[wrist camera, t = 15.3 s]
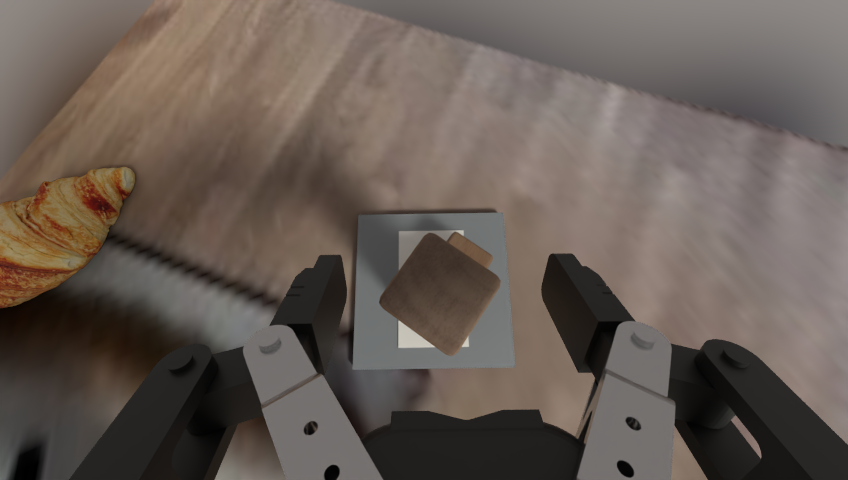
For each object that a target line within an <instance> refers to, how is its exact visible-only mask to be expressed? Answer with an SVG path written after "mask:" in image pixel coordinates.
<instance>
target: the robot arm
mask: <svg viewBox="0 0 848 480" xmlns="http://www.w3.org/2000/svg"><path fill="white" fill-rule="evenodd" d="M290 287H291V288H290V289H289V290H288V292H287V294H286V297H285V298H284V299H283V301H282V303H281V305H280V307H279V309H278V311H277V312H276V314H275V316H274V318H273V320H272V322H271V324H270V326H268V327H266V328H263V329H261V330H259V331H257V332H256V333H254V334H253V335H252V336H251V337H250V338H249V339H248V340H247V341H246V343H245V345H244V346H243V347H240V348H236V349H232V350H229V351H225V352H221V353H217V354H212V352H211V350H210V349H209V347H207V346H205V345H202V344H193V345H188V346H184V347H181V348H179V349H176V350H175V351H173V352H171V353H169V354H168V355H166V356H165V357H164V358H162V359H161V360H160V361H159V362H158V363H157V364H156V366H155V367H154V368H153V369H152V371H151V372H150V373H149V375H148V376H147V377H146V379H145V380H144V381H143V383H142V384H141V385H140V387H139V388H138V389H137V391H136V392H135V393H134V394H133V396H132V397H131V398H130V400H129V401H128V402H127V404H126V405H125V406H124V408H123V409H122V410H121V412H120V413H119V414H118V416H117V417H116V418H115V420H114V421H113V422H112V424H111V425H110V426H109V428H108V429H107V430H106V431H105V433H104V434H103V435H102V437H101V438H100V439H99V441H98V442H97V443H96V445H95V446H94V447H93V449H92V450H91V451H90V453H89V454H88V455H87V457H86V458H85V459H84V461H83V462H82V463H81V465H80V466H79V467H78V468H77V470H76V471H75V472H74V474H73V475H72V476H71V478H70V479H69V480H214V479H215V477H216V475H217V472H218V470H219V467H220V465H221V463H222V460H223V458H224V456H225V453H226V451H227V448H228V446H229V444H230V441H231V439H232V437H233V434H234V432H235V429H236V427H237V425H238V423H241V422H244V421H247V420H250V419H254V418H257V417H260V416H263V415H264V417H265V420H266V423H267V426H268V429H269V431H270V434H271V437H272V440H273V443H274V445H275V448H276V451H277V454H278V457H279V460H280V462H281V465H282V468H283V471H284V474H285V476H286V479H287V480H671V469H672V453H673V438H674V425H675V427H676V428H677V430H678V432H679V433H680V435H681V437H682V438H683V440H684V441H685V443H686V445H687V446H688V448H689V449H690V451H691V453H692V454H693V456H694V458H695V459H696V461H697V462H698V464H699V466H700V467H701V469H702V471H703V472H704V474H705V475H706V477H707V479H708V480H848V445H847V444H846V443H845V442H844V441H843V440H842V439H841V438H840V437H839V436H838V435H837V434H836V433H835V432H834V431H833V430H832V429H831V428H830V427H829V426H828V425H827V424H826V423H825V422H824V421H823V420H822V419H821V418H820V417H819V416H818V415H817V414H816V413H815V412H814V411H813V410H812V409H811V408H809V407H808V406H807V405H806V404H805V403H804V402H803V401H802V400H801V399H800V398H799V397H798V396H797V395H796V394H795V393H794V392H793V391H792V390H791V389H790V388H789V387H788V386H787V385H786V384H785V383H784V382H783V381H782V380H781V379H780V378H779V377H778V376H777V375H776V374H775V373H774V372H773V371H772V370H771V369H770V368H769V367H768V366H767V365H766V364H765V363H764V362H763V361H762V360H760V359H759V358H758V357H757V356H756V355H754V354H753V353H752V352H750V351H748V350H747V349H745V348H743V347H741V346H739V345H737V344H734V343H732V342H728V341H724V340H718V339H712V340H708V341H706V342H705V343H704V344H703V346H702V347H701V349H700V350H696V349H692V348H687V347H683V346H679V345H674V344H670V342H669V340H668V339H667V338H666V337H665V336H664V335H663V334H662V333H661V332H659V331H658V330H656V329H655V328H653V327H651V326H649V325H646V324H644V323H640V322H636V321H635V320H634V319H633V318H632V316H631V315H630V314H629V312H628V311H627V310H626V309H625V307H624V306H623V305H622V304H621V302H620V301H619V300H618V299H617V297H616V296H615V295H614V294H612V291H611V290H610V288H609V287H608V286H606V283H605V282H604V281H603V280H602V278H601V277H600V276H599V275H598V274H597V273H595V272H594V271H593V270H591V269H590V268H588V267H587V266H582V265H581V264H580V263H579V261H578V260H577V259H576V257H575V256H574V255H573V254H551V255H550V256H549V258H548V262H547V266H546V270H545V274H544V278H543V282H542V289H541V291H542V298H543V301H544V303H545V305H546V307H547V309H548V312H549V314H550V316H551V318H552V320H553V322H554V324H555V326H556V328H557V330H558V332H559V334H560V336H561V338H562V340H563V342H564V344H565V346H566V348H567V350H568V352H569V354H570V356H571V358H572V360H573V363H574V365H575V367H576V369H577V371H578V373H591V372H592V373H593V375H594V377H595V379H594V382H593V384H592V387H591V390H590V393H589V396H588V400H587V403H586V406H585V409H584V412H583V415H582V419H581V422H580V425H579V428H578V431H577V433H576V436H573V435H571V434H570V433H568V432H566V431H565V430H562V429H560V428H558V427H556V426H554V425H551V424H548V423H545V422H543V420H542V417H541V414H540V411H539V410H501V411H498V412H494V413H491V414H488V415H484V416H481V417H477V418H474V419H470V420H462V419H458V418H454V417H450V416H446V415H442V414H438V413H434V412H430V411H394V412H392V416H391V424H387V425H384V426H382V427H380V428H377V429H375V430H373V431H372V432H370V433H368V434H367V435H365V436H364V437H363V438H361V439H359V437H358V435H357V434H356V432H355V430H354V428H353V427H352V425H351V423H350V422H349V420H348V418H347V416H346V415H345V413H344V411H343V409H342V408H341V406H340V404H339V403H338V401H337V399H336V397H335V396H334V394H333V392H332V390H331V389H330V387H329V385H328V384H327V382H326V380H325V378H324V377H323V375H325V373H326V369H327V366H328V362H329V359H330V355H331V352H332V348H333V345H334V341H335V338H336V334H337V331H338V327H339V324H340V321H341V317H342V314H343V310H344V307H345V303H346V297H347V287H346V280H345V274H344V268H343V262H342V257H341V255H320V256H319V257H318V260H317V262H316V264H315V266H314V268H305V269H304V270H303V271H302V272H301V273H300V274H298V275H297V276H296V277H295V279H294V281H293V283H292V285H291V286H290ZM735 415H736V416H737V417H738V418H739V420H740V421H741V422H742V423H743V425H744V426H745V427H746V428H747V430H748V431H749V432H750V433H751V435H752V436H753V437H754V438H755V440H756V441H757V443H758V445H759V447H760V450H761V455H762V457H761V459H760V457H759V456H758V455H757V453H756V452H755V451H754V450H753V448H752V447H751V446H750V444H749V443H748V442H747V441H746V439H745V438H744V437H743V435H742V434H741V433H740V432H739V430H738V429H737V428H736V426H735V425H734V424H733V422H732V421H731V419H732V418H733V417H734V416H735Z"/></svg>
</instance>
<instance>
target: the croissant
mask: <svg viewBox="0 0 848 480" xmlns="http://www.w3.org/2000/svg"><path fill="white" fill-rule="evenodd" d="M134 183H135V174H134V172H133V171H132V170H131V169H129V168H127V167H120V168H108V169H107V168H101V169H99V170H98V169H94V170H89V171H88V173H87V174H86V175H84V176H82V177H76V176H75V177H70V178H60V179H57V180H55V181H53V182H45V181H44V182H43V183H42V184H41V186H40V187H39V189H38V191H37V194H36V195H34V196H33V197H27V198H23V199H21V200H18V201H8V202H4V203H2V204H0V308H5V307H11V306H16V305H18V304H21V303H23V302H25V301H28V300H30V299H32V298H34V297H36V296H38V295H39V294H41V293H43V292H45V291H47V290H50V289H53V288H55V287H57V286H59V285H60V284H62V283H63V282H64V281H66V280H67V279H68V278H70V277H71V276H72V275H73V274H75V273H76V272H78V270H80V269H82V268H84V267H85V266H86V265H87V264H88V262H89V261H90V260H91V259H92V258H93V257H94V255H96V254H97V253H98V251H99V250H100V249H101V247H102V245H103V243H104V241H105V239H106V237H107V234H108V231H109V229H108V228H109V227H110V226H111V225H114V224H115V222H116V220H117V218H118V216H119V215H120V214H119V212H120V208H121V207H122V205H123V203H122V200H124V199H125V198H126V197H128V196H129V195H130V193H131V191H132V189H133V187H134Z"/></svg>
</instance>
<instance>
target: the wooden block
mask: <svg viewBox="0 0 848 480" xmlns="http://www.w3.org/2000/svg"><path fill="white" fill-rule="evenodd" d="M492 261H493V256H492V255H491V254H490V253H488V252H487V251H485V250H484V249H482V248H481V247H479V246H478V245H476V244H475V243H473V242H472V241H470V240H469V239H467V238H466V237H464V236H463V235H461V234H460V233H458V232H454V233H452V234H451V236H450V237H449V238H448V240H447V241H445V240H444V239H442V238H441V237H439V236H438V235H436V234H434V233H428V234H426V235H424V237H423V238H422V239H421V241H420V242H419V244H418V245H417V246H416V248H415V249H414V250H413V252H412V253H411V255H410V256H409V257H408V259H407V260H406V262H405V263H404V264H403V266H402V267H401V268H400V270H399V271H398V273H397V274H396V275H395V277H394V278H393V279H392V281H391V282H390V284H389V285H388V286H387V288H386V289H385V291H384V292H383V293H382V295H381V296H380V300H379V304H380V305H381V307H382V308H383V309H384V310H386V311H387V312H388V313H390V314H391V315H392V316H394V317H395V318H396V319H398V320H399V321H401V322H402V323H403V324H405V325H406V326H407V327H409V328H410V329H411V330H413V331H414V332H416V333H417V334H418V335H420V336H421V337H422V338H424V339H425V340H426V341H428V342H429V343H431V344H432V345H433V346H435V347H436V348H437V349H439V350H440V351H441V352H443V353H444V354H446V355H449V356H453V355H455V354H456V353H458V351H459V350H460V348H461V347H462V345H463V344H464V342H465V340H466V339H467V337H468V336H469V334H470V333H471V331H472V330H473V328H474V326H475V325H476V323H477V322H478V320H479V319H480V317H481V316H482V314H483V312H484V311H485V309H486V308H487V306H488V305H489V303H490V302H491V300H492V298H493V297H494V295H495V294H496V292H497V291H498V289H499V288H500V283H501V280H500V279H499V277H498V276H497V275H496V274H494V273H493V272H491V271H490V270H488V269H487V268H488V267H489V265H490V264H491V262H492Z"/></svg>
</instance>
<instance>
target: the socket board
mask: <svg viewBox="0 0 848 480" xmlns="http://www.w3.org/2000/svg"><path fill="white" fill-rule="evenodd" d="M454 232H458V233H460V234H461V235H463V236H464V237H466V238H467V239H469V240H470V241H472V242H473V243H475V244H476V245H478V246H479V247H481V248H482V249H484V250H485V251H487V252H488V253H490V254H491V255H492V256H493V261H492V262H491V264H490V265H489V267H488V268H487V269H488V270H490V271H491V272H493V273H494V274H496V275H497V276H498V277H499V279H500V280H501V283H500V288H499V289H498V291H497V292H496V294H495V295H494V297H493V298H492V300H491V302H490V303H489V305H488V306H487V308H486V309H485V311H484V312H483V314H482V316H481V317H480V319H479V320H478V322H477V323H476V325H475V326H474V328H473V330H472V331H471V333H470V334H469V336H468V337H467V339H466V340H465V342H464V344H463V345H462V347H461V348H460V350H459V351H458V353H456V354H455V355H453V356H449V355H446V354H444V353H443V352H441V351H440V350H439V349H437V348H436V347H435V346H433V345H432V344H431V343H429V342H428V341H426V340H425V339H424V338H422V337H421V336H420V335H418V334H417V333H416V332H414V331H413V330H411V329H410V328H409V327H407V326H406V325H405V324H403V323H402V322H401V321H399V320H398V319H396V318H395V317H394V316H392V315H391V314H390V313H388V312H387V311H386V310H384V309H383V308H382V307H381V305H380V304H379V300H380V296H381V295H382V293H383V292H384V291H385V289H386V288H387V286H388V285H389V284H390V282H391V281H392V279H393V278H394V277H395V275H396V274H397V273H398V271H399V270H400V268H401V267H402V266H403V264H404V263H405V262H406V260H407V259H408V257H409V256H410V255H411V253H412V252H413V250H414V249H415V248H416V246H417V245H418V244H419V242H420V241H421V239H422V238H423V237H424V235H426V234H428V233H434V234H436V235H438V236H439V237H441V238H442V239H444V240H445V241H447V240H448V238H449V237H450V236H451V234H452V233H454ZM506 367H515V357H514V344H513V331H512V318H511V305H510V292H509V279H508V266H507V253H506V240H505V227H504V214H503V213H445V214H380V215H358V237H357V265H356V292H355V320H354V347H353V370H368V369H437V368H506Z"/></svg>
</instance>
